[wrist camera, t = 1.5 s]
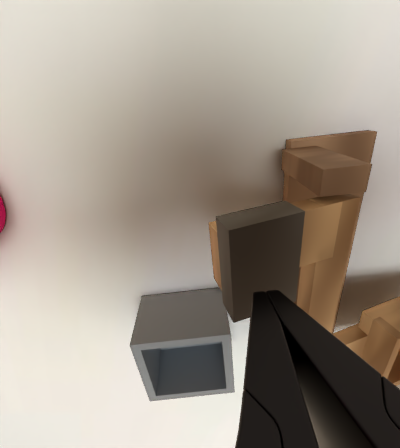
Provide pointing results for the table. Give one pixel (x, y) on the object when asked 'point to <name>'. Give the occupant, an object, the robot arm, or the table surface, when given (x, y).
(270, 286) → the catapult lever
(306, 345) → the robot arm
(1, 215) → the pepper mill
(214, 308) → the grey open box
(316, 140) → the frame
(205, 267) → the table surface
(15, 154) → the table surface
